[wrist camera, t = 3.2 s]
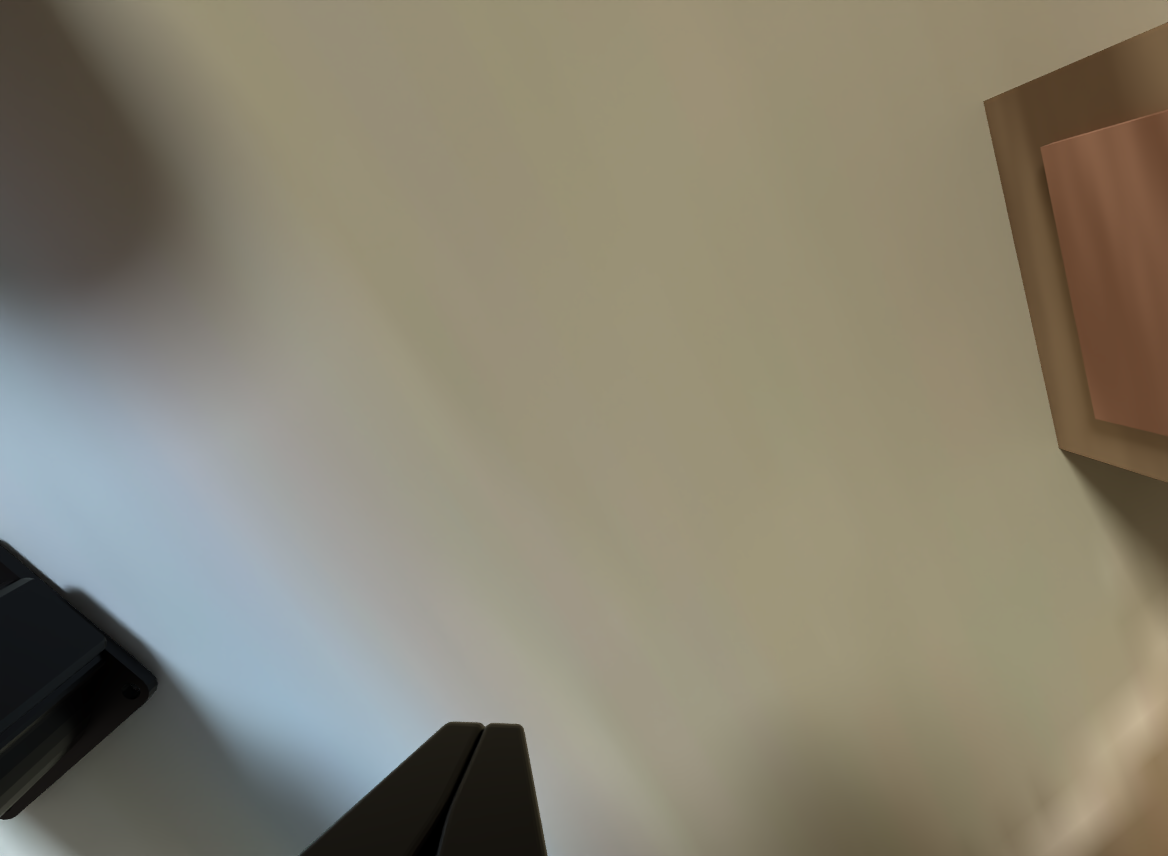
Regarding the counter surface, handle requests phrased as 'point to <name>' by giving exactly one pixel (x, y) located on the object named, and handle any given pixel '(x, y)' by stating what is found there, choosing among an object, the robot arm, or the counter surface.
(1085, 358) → the wooden box
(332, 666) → the counter surface
